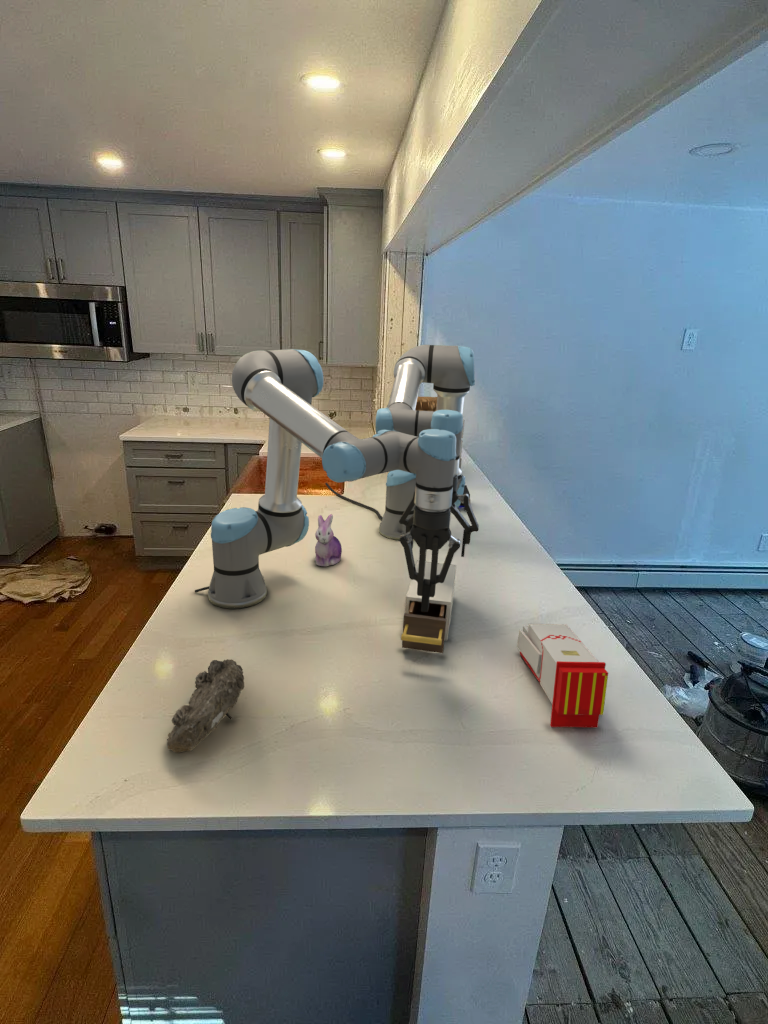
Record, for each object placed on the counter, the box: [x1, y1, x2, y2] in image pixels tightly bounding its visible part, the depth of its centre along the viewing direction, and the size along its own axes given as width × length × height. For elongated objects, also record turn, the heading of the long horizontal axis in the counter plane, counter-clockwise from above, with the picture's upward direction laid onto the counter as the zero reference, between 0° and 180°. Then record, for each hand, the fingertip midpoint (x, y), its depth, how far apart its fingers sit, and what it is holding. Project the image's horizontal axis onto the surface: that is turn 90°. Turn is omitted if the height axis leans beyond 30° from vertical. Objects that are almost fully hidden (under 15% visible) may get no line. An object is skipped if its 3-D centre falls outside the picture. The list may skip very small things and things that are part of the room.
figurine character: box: [458, 484, 471, 512], centre depth 229 cm, size 7×8×15 cm
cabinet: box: [404, 559, 457, 641], centre depth 146 cm, size 21×11×10 cm, turn 170°
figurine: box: [314, 513, 343, 567], centre depth 173 cm, size 9×10×15 cm
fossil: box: [166, 658, 245, 754], centre depth 106 cm, size 22×10×15 cm
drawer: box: [400, 601, 446, 654], centre depth 136 cm, size 26×10×8 cm, turn 170°
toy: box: [516, 623, 609, 728], centre depth 121 cm, size 12×13×30 cm
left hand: (424, 608), depth 123 cm, fingers closed
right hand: (436, 551), depth 148 cm, fingers open, 13 cm apart
